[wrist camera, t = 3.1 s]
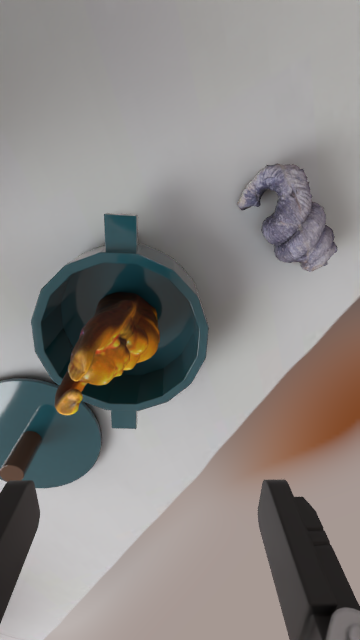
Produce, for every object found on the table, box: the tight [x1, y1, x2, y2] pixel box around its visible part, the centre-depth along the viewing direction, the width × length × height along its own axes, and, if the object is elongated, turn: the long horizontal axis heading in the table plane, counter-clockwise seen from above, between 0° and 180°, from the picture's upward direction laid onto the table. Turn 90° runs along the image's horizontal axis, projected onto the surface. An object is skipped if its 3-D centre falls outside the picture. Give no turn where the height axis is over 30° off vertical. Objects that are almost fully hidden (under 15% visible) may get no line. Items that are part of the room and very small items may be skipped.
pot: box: [31, 213, 209, 429], centre depth 29 cm, size 15×20×5 cm
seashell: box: [237, 164, 337, 272], centre depth 26 cm, size 5×5×10 cm
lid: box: [0, 378, 102, 488], centre depth 34 cm, size 16×16×6 cm
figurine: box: [55, 292, 160, 415], centre depth 25 cm, size 6×7×13 cm
